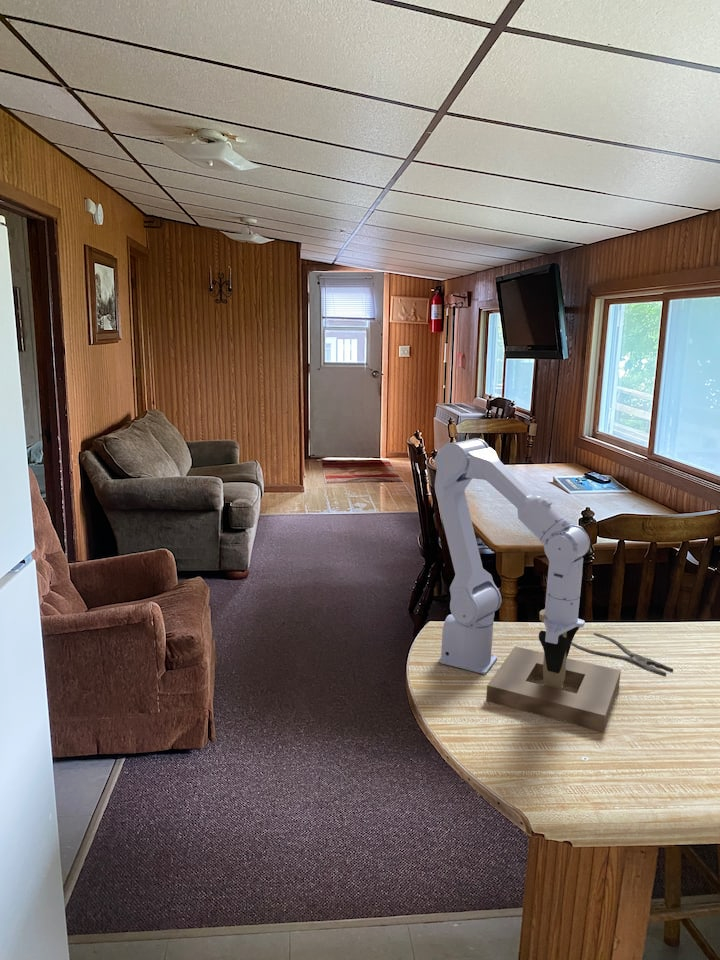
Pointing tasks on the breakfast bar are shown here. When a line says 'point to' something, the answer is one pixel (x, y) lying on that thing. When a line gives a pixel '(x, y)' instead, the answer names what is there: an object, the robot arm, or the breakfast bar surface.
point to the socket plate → (573, 708)
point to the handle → (550, 677)
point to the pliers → (633, 659)
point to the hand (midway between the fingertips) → (556, 665)
